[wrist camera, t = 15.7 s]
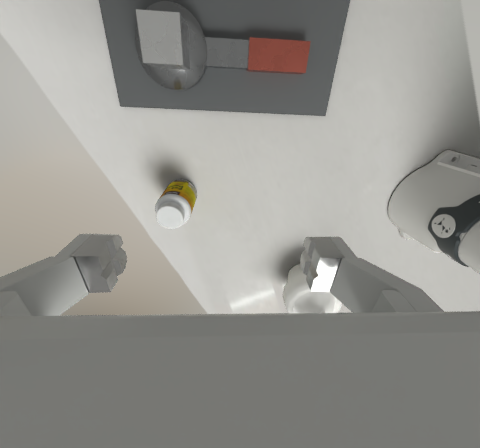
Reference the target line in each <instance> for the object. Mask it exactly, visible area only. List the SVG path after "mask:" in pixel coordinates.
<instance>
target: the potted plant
mask: <svg viewBox="0 0 480 448" xmlns="http://www.w3.org/2000/svg"><path fill="white" fill-rule="evenodd" d="M306 278H307V275H305V274H304V273H303V272H302V269H301V265H300V264H298V265H295V266H293V267H292V268H291V269H290V271H289V274H288V281H287V284H286V285H285V286H284V291H283V300H284V303H285V307H286V311H287V313H337V312H338V311H340V309H341V306H342V303H341V302H340V301H339V300H338V299H337V298H336V297H335V296H333V295H332V294H331V293H330V292H318V291H311V290H310V288H309V286H308V284H307V281H306Z"/></svg>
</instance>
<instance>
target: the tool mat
mask: <svg viewBox="0 0 480 448" xmlns="http://www.w3.org/2000/svg"><path fill="white" fill-rule="evenodd" d="M160 1H171V2H174V3H177V4H179V5H181V6H183V7H184V8H186V9H187V10H188V11H189V12H190V13H191V14H192V15H193V16H194V17H195V18H196V20H197V21H198V23H199V25H200V27H201V29H202V31H203V34H204V36H205V37H212V38H227V39H242V40H249V38H250V37H253V38H268V39H283V40H298V41H311V43H310V49H309V55H308V62H307V68H306V73H304V74H283V73H266V72H249V71H247V70H243V69H226V68H209V67H207V68H206V71H205V74H204V76H203V77H202V79H201V80H200V81H199V82H198V83H197V84H196V85H195V86H193V87H192V88H189V89H187V90H173V89H168V88H165V87H163V86H161V85H159V84H158V83H156V82H155V81H154V80H153V79H152V78H151V77H150V76H149V75H148V74H147V73H146V71H145V70H144V68H143V66H142V64H141V62H140V60H139V58H138V54H137V50H136V44H135V32H136V27H137V16H136V9H139V10H145V9H147V8H148V7H149V6H150V5H152V4H154V3H156V2H160ZM99 3H100V8H101V13H102V18H103V23H104V28H105V33H106V38H107V43H108V48H109V53H110V58H111V63H112V68H113V73H114V78H115V83H116V88H117V93H118V98H119V102H120V106H122V107H143V108H165V109H186V110H208V111H229V112H251V113H272V114H294V115H315V116H325V115H326V110H327V106H328V101H329V96H330V92H331V87H332V82H333V78H334V73H335V68H336V63H337V59H338V54H339V49H340V45H341V40H342V35H343V31H344V26H345V21H346V17H347V12H348V7H349V3H350V0H99Z"/></svg>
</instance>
